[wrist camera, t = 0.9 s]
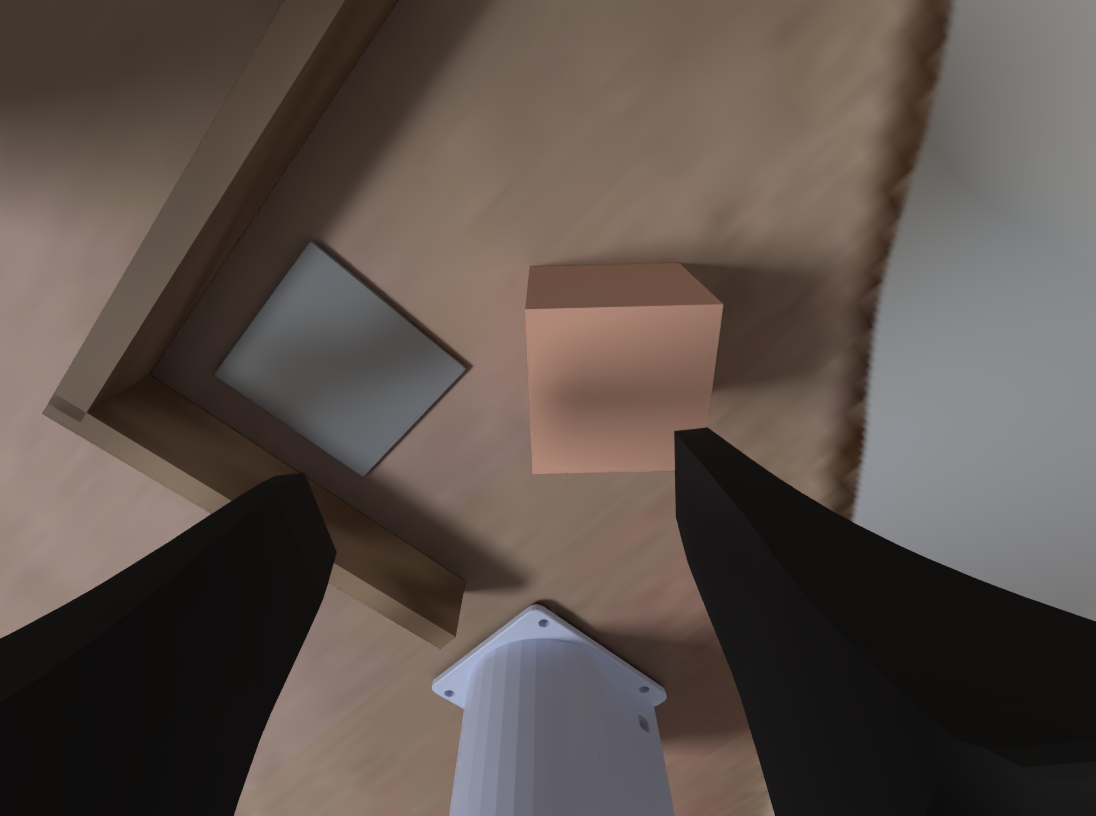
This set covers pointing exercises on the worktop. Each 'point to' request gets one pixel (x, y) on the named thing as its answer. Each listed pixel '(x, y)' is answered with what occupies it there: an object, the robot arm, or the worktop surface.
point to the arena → (271, 329)
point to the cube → (617, 364)
